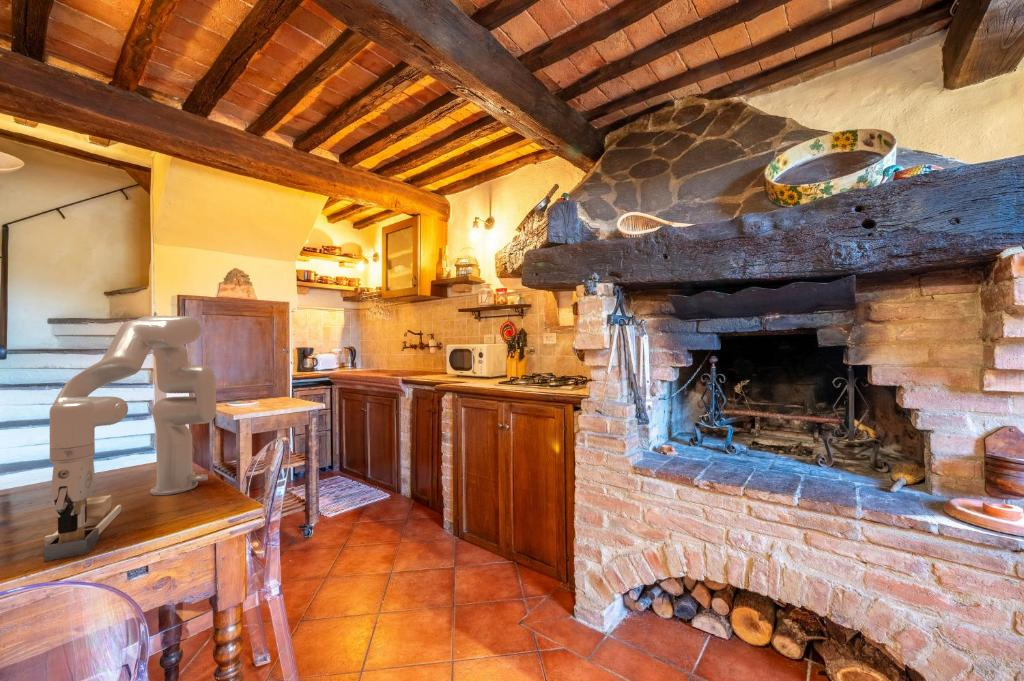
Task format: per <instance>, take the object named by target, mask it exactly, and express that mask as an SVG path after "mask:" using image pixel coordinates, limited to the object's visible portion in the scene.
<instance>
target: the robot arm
mask: <svg viewBox="0 0 1024 681" xmlns="http://www.w3.org/2000/svg"><path fill="white" fill-rule="evenodd" d="M201 333H202V326H201V322H200V321H199V320H198V319H197V318H195V317H193V316H189V315H188V316H187V315H186V316H182V315H148V316H147V315H146V316H141V317H139V318H137V319H133V320H132V319H131V320H128V321H126V322H124V323H123V324H121V326H120V327H119V328H118V331H117V332H116V334H115V335H114V338H113V339H112V341H111V343H110V345H109V347H108V348H107V350H106V352H105V353H104V356H103V357H102V358H101V360H99V361H98V362H96V363H94V364H92V365H91V366H88V367H87V368H85V369H84V370H82V371H81V372H79V373H77V374H76V375H74V376H72V378H70V379H69V380H68V381H67V382H66V383H65V384H64V386H63V387H62V388H61V390H60V392H59V393H58V394H57V397H56V398H55V400H54V402H53V404H52V406H50V408H49V463H51V464H53V468H52V477H51V503H52V504H53V505H54V506H55V507H54V510H55V511H56V512H57V531H58V534H62V533H69V532H75V531H76V530H77V529H78V514H75V513H76V503H77V502H80V501H82V500H83V499H85V522H86V521H87V506H86V505H87V498H88V496H90V495H91V494H92V493H94V491H95V490H96V476H95V475H96V474H95V464H94V463H95V462H94V457H95V456H96V455H95V454H96V447H95V446H96V444H95V442H96V439H95V435H96V434H95V431H96V430H95V428H96V427H103V426H104V427H105V426H111V425H115V424H118V423H119V422H121V421H123V420H124V419H125V418H126V417H127V415H128V412H129V405H128V403H127V401H126V400H124V399H122V398H121V397H117V396H107V395H106V396H90V394H92V393H93V392H95V391H96V390H97V389H99V388H102V387H104V386H106V385H108V384H109V385H110V384H111V383H114V382H118V381H121V380H123V379H127V378H129V377H132V376H134V375H136V374H138V373H139V372H140V370H141V369H142V366H143V365H144V362H145V361H146V359H147V356H148V354H149V352H150V350H151V349H152V351H153V353H154V355H155V357H154V358H155V367H156V369H155V370H156V384H157V387H158V390H159V391H160V392H161V393H164V394H194V396H185V395H184V396H168V397H163V398H161V399H159V400H158V401H156V402H155V403H154V405H153V406H152V418H153V422H154V425H155V433H156V485H155V486H153V487H152V488H151V489H150V491H149V492H150V494H151V495H153V496H168V495H169V496H170V495H175V494H180V493H184V492H187V491H190V490H192V489H193V490H194V488H196V487H197V486H198V484H199V482H205V481H208V479H209V477H208V474H205V473H202V474H195V473H196V472H195V471H193V434H192V432H191V430H190V428H188V426H187V425H201V424H203V425H204V424H209V423H211V422H212V421H213V420H214V419H215V417H216V415H217V392H216V389H217V387H216V385H217V384H216V377H215V373H214V371H213V369H212V368H211V367H210V366H207V365H202V364H197V365H194V364H192V365H191V364H190V363H189V357H188V356H189V354H188V350H187V347H186V346H185V345H187V344H191V343H193V342H195V341H196V340H198V338H199V337H200V335H201ZM70 499H71V500H72V501H73V502H66V501H67V500H70ZM66 505H71V508H70V507H69V506H68V507H67V506H66Z"/></svg>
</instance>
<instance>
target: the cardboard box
mask: <svg viewBox="0 0 1024 681" xmlns="http://www.w3.org/2000/svg"><path fill="white" fill-rule="evenodd" d="M86 506H87V521H86V522H85V527H86V528H87V527H91V526H97V525H98V524H99V523H100V522H101V521H102V520H103V519H104V518H105V517H106V516H107V515H108V514H109V513H110V512H111V511H112V495H111V494H110V495H103V496H95V497H90V498H89V497H87V505H86Z"/></svg>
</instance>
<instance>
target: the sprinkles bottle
mask: <svg viewBox="0 0 1024 681" xmlns="http://www.w3.org/2000/svg"><path fill="white" fill-rule="evenodd" d="M66 502H73V501H72V500H71V499H70V500H67V501H66ZM66 506H67V507H68V506H69V507H70V508H71V505H66ZM75 514H78V529H77V530H76V531H75V532H69V533H62V534H59V541H58V543H63V542H69V541H75V540H81V539H84V538H85V499H83V500H82V501H80V502H77V503H76V513H75Z"/></svg>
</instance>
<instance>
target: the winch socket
mask: <svg viewBox="0 0 1024 681" xmlns="http://www.w3.org/2000/svg"><path fill="white" fill-rule="evenodd" d="M99 537H100V534H99V527H98V528H95V527H93V528H92V529H91V528H87V529H86V530H85V538H84V539H81V540H75V541H69V542H63V543H58V541H59V534H58V535H57V536H56V537H55V538H53V539H52V540H51V541H50V542H49V543H48V544H46V545H45V544H44V546H43V562H49V561H57V560H61V559H68V558H72V557H79V556H82V555H87V554H88V553H89V552H90V551H91V550H92V549H93V548H94V547H95V545H97V543H99V541H100V540H99V539H100V538H99Z"/></svg>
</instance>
